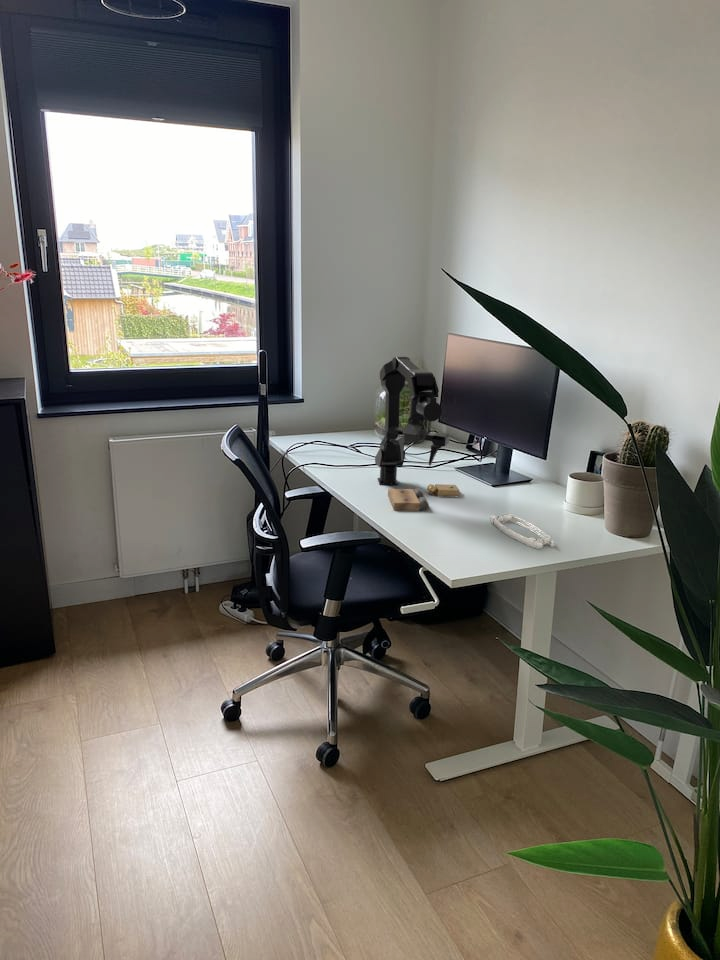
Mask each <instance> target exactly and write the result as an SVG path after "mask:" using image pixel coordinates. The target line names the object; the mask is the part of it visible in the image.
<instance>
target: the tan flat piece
mask: <svg viewBox="0 0 720 960" xmlns="http://www.w3.org/2000/svg"><path fill="white" fill-rule="evenodd" d="M387 497H389V498H388V500H389V502H390V505H391V507H392V509H393V511H417V510H421V511H423V510H424V511H427V510H428V509H429V507H430V504H429V502H428V500H427V498H425V497H424V494H423V492H422V491H421V489H420V488H419V487H415V488H414V489H413V488H388V489H387Z"/></svg>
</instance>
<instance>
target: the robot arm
mask: <svg viewBox="0 0 720 960" xmlns="http://www.w3.org/2000/svg"><path fill="white" fill-rule="evenodd" d="M391 359H392V360H390V361H388V362H387V363H385V364H384V365H383V366H382V367H381V368H380V371H379V379H380V385H381V388H382V389H383V391H384V392H385V405H384V406H385V408H384V409H385V410H384V413H385V414H384V419H385V420H384V422H385V423H384V437H383V439H381V442H380V443H379V449H378V451H377V453H376V454H375V457H374V464H375V465H376V466H378V467H379V468H380V469H379V477H377V482H378V484H379V485H380V486H381V485H387V486H388V485H391V486H392V485H393V486H398V485H399V481H398V478H397V474H398V473H397V472H398V467H403V465H404V462H405V457H406V452H405V444H404V443H413V444H419V443H420V441H428V442H431V443H432V444H431V445H430V454H429V460H428V466H429V467H430V466H432V464H433V462H434V459H435V457H436V455H437V453H438V451H439V450H440V449H441V448H443V447H446V446H447V445H448V444H449V443H450V435H449V434H448V433H446V432H445V433H443V432H438V431H437V432H436V433H435V434H428V433H429V428H428V427H429V422H436V421H438V420H439V419H440V417H441V416H442V413H443V409H442V406H441V405H440V403H438V402H437V398H439V392H440V390H439V386H438V384H437V383H438V382H437V380H436V377H435V375H434V373H433V372H431V371H429V370H423V369H420V368H419V367H418V366H417V365H416V364H414V362H412V361H411V359H410V357H408V356H393V358H391ZM406 380H407V387H408V389H409V392H410V393H409V397H410V405H409V417H408V420H407V424H406V426H405V428H404V427H400V409H401V408H400V403H401V402H400V401H401V393H402V391H403V389H404V388H405V386H406Z"/></svg>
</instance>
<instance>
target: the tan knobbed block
mask: <svg viewBox="0 0 720 960" xmlns="http://www.w3.org/2000/svg"><path fill="white" fill-rule="evenodd" d="M426 491H427V492H428V493H429V495H430V496H437V495H438V496H459V497H460V492H461V491H460V489H459V487H457V485H456V484H432V483H431V484H428V485H427V486H426ZM438 496H437V497H438Z"/></svg>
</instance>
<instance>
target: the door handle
mask: <svg viewBox="0 0 720 960" xmlns="http://www.w3.org/2000/svg"><path fill="white" fill-rule="evenodd" d="M489 520H490V522H491V524H492V525H493V526H495V527H496V528H497V529H498V530H499V531H500V532H502V533H504V534H505V535H507V536H508V537H510V538H512V539H514V540H515V541H518V542H520V543H522V544H524V545H526V546H527V547H531V548H533V549H537V550H540V549H542V548H543V547H544V546H546V545H548V546H550V548H554V547H555V546H556V542H555V541H554V538H552V536H551V535H549V534H547V533H546V532H545V531H543V530H542V529H541V528H540V527H538V526H536V525H534V524H532V523H531V522H528V521H527V520H524V519H522V518H520V517H518V516H516V515H514V514H511V513H508V514H507V513H506V514H504V515H503V516H501V515H500V516H497V515H495V514H494V515H491V516H490V517H489ZM507 522H509V523H513V524H515V525H518V526H519V527H520V526H521V527H522V528H525V529H527V530H528V531H531V532H532V533H534V534H535V535H537V536H538V537H540V538H535V537H533V536H532V537H526V536H524V535H522V534H520V533H518V532H515V531H514V530H513V529H510V528H509V527H507V526H506V525H504V523H507Z"/></svg>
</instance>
